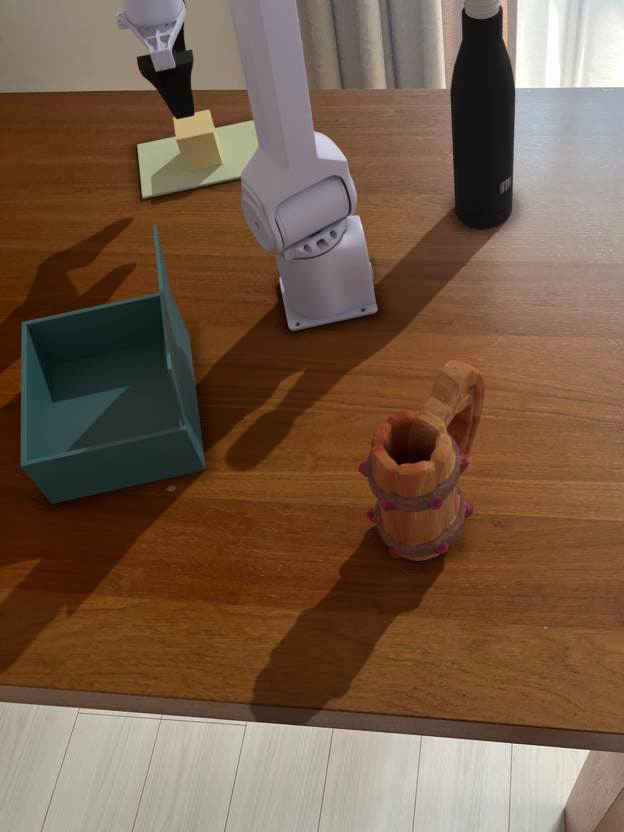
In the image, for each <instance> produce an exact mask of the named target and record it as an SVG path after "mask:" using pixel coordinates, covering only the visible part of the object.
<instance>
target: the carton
mask: <svg viewBox="0 0 624 832" xmlns="http://www.w3.org/2000/svg"><path fill="white" fill-rule="evenodd" d="M171 300H172V309H173V318H174V327H175V336H176V345H177V354H178V363H179V372H180V381H181V390H182V399H183V408H184V417H185V425H182V423H181V419H180V416H179V412H178V408H177V404H176V400H175V396H174V392H173V388H172V385H171V381H170V377H169V373H168V369H167V359H166V349H165V340H164V330H163V320H162V310H161V301H160V291H159V292H155V293H151V294H145V295H142V296H136V297H132V298H128V299H121V300H117V301H114V302H109V303H104V304H100V305H95V306H91V307H86V308H81V309H76V310H72V311H68V312H63V313H58V314H53V315H48V316H44V317H39V318H35V319H30V320H26V321H22V322H21V336H20V337H21V346H20V347H21V348H20V349H21V350H20V351H21V353H20V356H21V359H20V360H21V362H20V363H21V364H20V468H21V469H22V470H23V471H24V472H25V473H26V474H27V476H28V477H29V478H30V480H31V481H32V482H33V483H34V484H35V486H36V487H37V488H38V490H40V492H41V493H42V494H43V495H44V497H45V498H46V499H47V500H48V502H49V503H50V504H51V505H54V504H59V503H63V502H68V501H72V500H77V499H81V498H86V497H89V496H90V497H91V496H94V495H99V494H103V493H107V492H112V491H116V490H121V489H126V488H130V487H134V486H138V485H139V486H140V485H144V484H147V483H153V482H156V481H162V480H166V479H170V478H176V477H179V476H184V475H188V474H192V473H197V472H201V471H205V470H206V461H205V452H204V445H203V438H202V437H203V436H202V430H201V429H202V428H201V421H200V412H199V406H198V405H199V404H198V396H197V388H196V387H197V386H196V379H195V372H194V364H193V355H192V346H191V339H190V333H189V331H188V328H187V326H186V324H185V321H184V319H183V317H182V314H181V312H180V309H179V307H178V305H177V303H176V300H175V298H174V296H173V294H172V292H171Z"/></svg>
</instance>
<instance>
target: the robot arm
mask: <svg viewBox="0 0 624 832" xmlns="http://www.w3.org/2000/svg"><path fill="white" fill-rule="evenodd" d="M227 1H228V7H229V12H230V16H231V20H232V21H231V22H232V25H233V30H234V34H235V40H236V44H237V49H238V53H239V59H240V64H241V68H242V73H243V77H244V81H245V82H244V83H245V87H246V92H247V97H248V101H249V106H250V110H251V111H250V112H251V115H252V120H254V125H255V130H256V135H257V139H258V144H259V146H258V148H257V150H256V152H255V153H254V155H253V156H252V158H251V159H250V161H249V162H248V163H247V165H246V167H245V168H244V170H243V171H242V173H241V175H240V181H241V182H240V183H241V184H240V186H241V201H240V207H241V211H242V214H243V216H244V220H245V222H246V224H247V226H248V228H249V229H250V232H251V234H252V235H253V237H254V238H255V240H256V241H257V243H258V244H259V245H260V246H261V248H262V249H263V250H264V251H266V252H269V253H271V254H272V255H274V258H275V263H276V266H277V270H278V273H279V276H280V277H278V281H279V287H280V292H281V296H282V300H283V301H282V302H283V305H284V306H283V307H284V310H285V316H286V322H287V327H288V330H290V332H295V331H300V330H305V329H308V328H309V329H310V328H315V327H318V326H322V325H328V324H332V323H337V322H342V321H346V320H350V319H355V318H360V317H363V316H368V315H374V314H376V313H377V312H378V305H377V301H376V295H375V288H374V281H373V280H375V277H374V270H373V267H372V263H371V261H370V255H369V251H368V246H367V242H366V236H365V232H364V227H363V224H362V220H361V218H360V215H358V214H357V215H355V212H356V210H357V202H358V196H357V195H358V193H357V189H356V185H355V182H354V181H353V178H352V176H351V172H350V169H349V163H348V160H347V157H346V156H345V155H344V152H342V150H341V149H340V148H339V147H338V145H337V144H336V143H335V142H334V141H333V140H332V139H331V138H330V137H328V136H327V135H325V134H324V133H322V132H320V131H319V132H318V131H315V128H314V121H313V114H312V107H311V99H310V93H309V85H308V77H307V71H306V65H305V64H306V63H305V56H304V50H303V49H304V48H303V42H302V34H301V28H300V20H299V12H298V5H297V0H227ZM120 2H121V4H122V7H123V11H120V12H117V13H116V14H115V23H116V25H117V28H118V29H119V30H121V31H122V30H130V31H131V32H132V33H133V35H134V36H135V37H136V38H137V39H138V40H139V42H140V43H141V44H142V45H143V46H144V48H146V50H147V52H149V54H144V55H143V54H142V55H138V56H136V65H137V68H138V71H139V73H140V74H141V76H142V77H143V78H144V79H145V80H147V81H148V82H149V83H150V84H151V85H152V86H153V87H154V88H155V89H156V91H157V92H158V94H159V95H160V96H161V98H162V99H163V101H164V103H165V104H166V106H167V108H168V110H169V111H170V113H171V114H172V116H173V117H175V118H176V119H182V118H186V117H191V116H194V113H195V102H194V95H193V89H192V73H193V68H194V52H193V49H187V47H186V42H185V20H186V18H187V17H186V16H187V7H186V1H185V0H120Z"/></svg>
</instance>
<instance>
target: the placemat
mask: <svg viewBox="0 0 624 832" xmlns="http://www.w3.org/2000/svg"><path fill="white" fill-rule="evenodd" d="M215 130H216V133H217V137H218V140H219V144H220V150H221V156H222V162H223V164H222V165H217V166H212V167H208V168H203V169H198V170H194V171H189V172H187V170H186V167H185V164H184V162H183V159H182V156H181V153H180V150H179V147H178V144H177V141H176V136H171V137H166V138H162V139H156V140H153V141H148V142H143V143H137V155H138V156H137V157H138V167H139V168H138V169H139V179H140V187H141V189H140V190H141V196H142V197H141V198H142V200H145V199H150V198H155V197H159V196H163V195H168V194H173V193H178V192H184V191H187V190H193V189H197V188H201V187H206V186H212V185H215V184H221V183H224V182H225V183H226V182H231V181H233V180H239V179H240V180H241V178H240V175H241V173H242V171H243V170H244V168H245V167H246V165H247V163H248V162H249V161H250V159H251V158H252V156H253V155H254V153H255V152H256V150H257V148H258V146H259V144H258V139H257V135H256V130H255V125H254V120H253V119H251V120H248V121H242V122H238V123H234V124H233V123H232V124H228V125H223V126H219V127H215Z"/></svg>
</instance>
